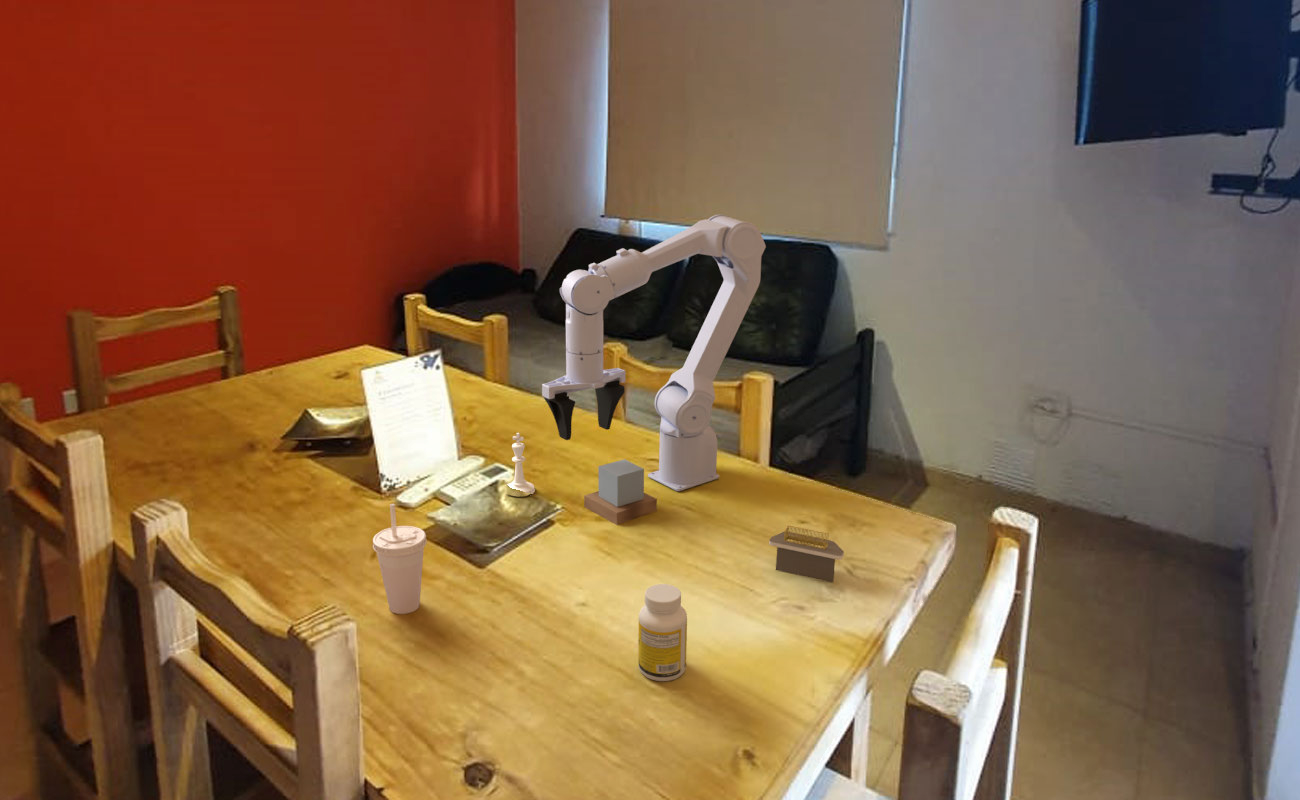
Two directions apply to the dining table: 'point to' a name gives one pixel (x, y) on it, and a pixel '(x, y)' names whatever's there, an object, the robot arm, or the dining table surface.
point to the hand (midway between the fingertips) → (584, 432)
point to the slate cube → (621, 482)
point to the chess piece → (520, 467)
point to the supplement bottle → (662, 634)
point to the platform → (806, 554)
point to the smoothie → (401, 564)
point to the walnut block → (619, 508)
